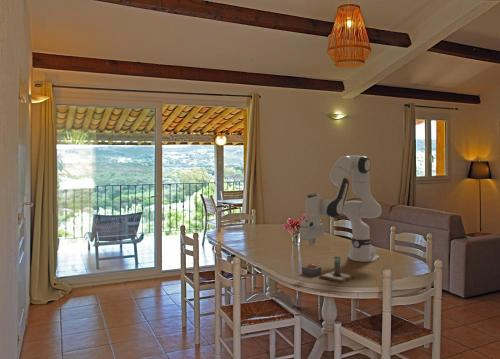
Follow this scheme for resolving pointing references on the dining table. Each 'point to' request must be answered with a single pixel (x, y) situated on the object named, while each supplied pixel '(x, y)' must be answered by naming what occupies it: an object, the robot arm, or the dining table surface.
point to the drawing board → (336, 277)
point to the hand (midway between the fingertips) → (312, 245)
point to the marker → (337, 266)
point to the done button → (311, 265)
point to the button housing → (311, 270)
